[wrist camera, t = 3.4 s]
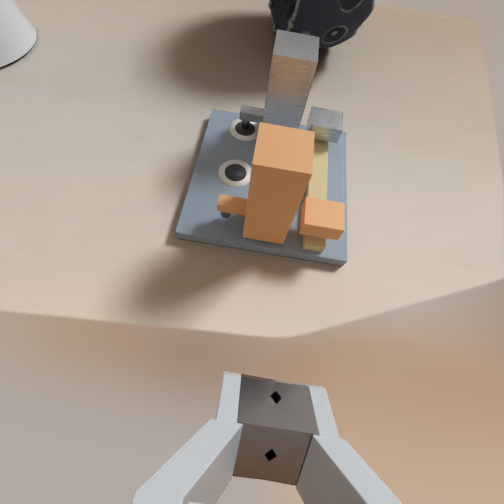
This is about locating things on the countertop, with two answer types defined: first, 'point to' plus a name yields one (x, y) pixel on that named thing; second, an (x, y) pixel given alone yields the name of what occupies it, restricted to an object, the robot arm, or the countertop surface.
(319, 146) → the board
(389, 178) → the countertop surface
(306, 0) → the dark rounded piece
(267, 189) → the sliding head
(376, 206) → the countertop surface
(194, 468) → the robot arm
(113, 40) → the countertop surface
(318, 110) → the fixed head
